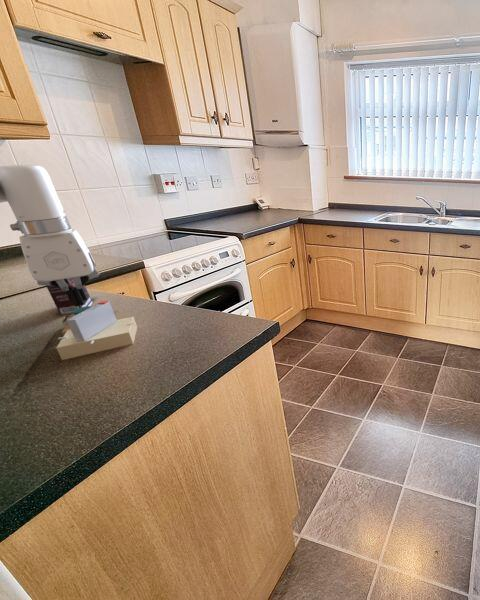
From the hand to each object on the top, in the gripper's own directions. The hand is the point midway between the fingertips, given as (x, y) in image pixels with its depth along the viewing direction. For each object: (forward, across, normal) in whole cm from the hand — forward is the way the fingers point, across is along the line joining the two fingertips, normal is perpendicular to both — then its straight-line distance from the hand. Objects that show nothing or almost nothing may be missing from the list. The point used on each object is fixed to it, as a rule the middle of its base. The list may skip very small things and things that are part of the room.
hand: (81, 303), depth 80 cm
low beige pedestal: (+6, +4, -11) cm, 13 cm away
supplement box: (+6, -5, +14) cm, 16 cm away
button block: (+6, 0, 0) cm, 6 cm away
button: (+3, 0, 0) cm, 3 cm away
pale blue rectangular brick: (+3, +4, -11) cm, 12 cm away
